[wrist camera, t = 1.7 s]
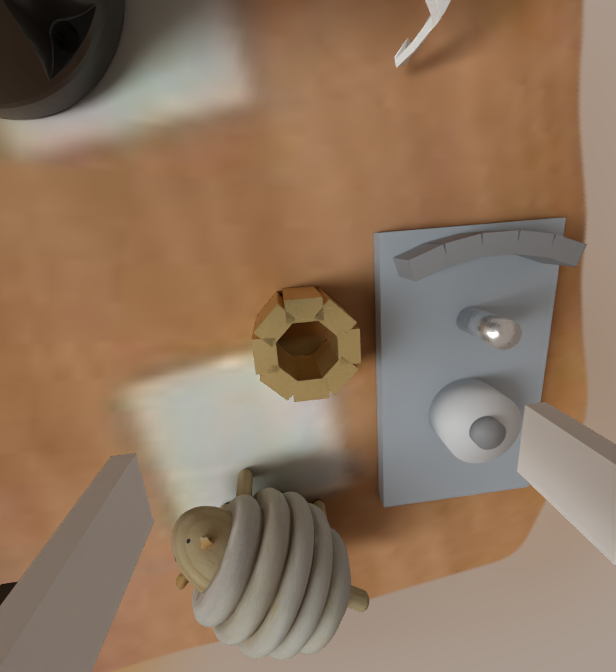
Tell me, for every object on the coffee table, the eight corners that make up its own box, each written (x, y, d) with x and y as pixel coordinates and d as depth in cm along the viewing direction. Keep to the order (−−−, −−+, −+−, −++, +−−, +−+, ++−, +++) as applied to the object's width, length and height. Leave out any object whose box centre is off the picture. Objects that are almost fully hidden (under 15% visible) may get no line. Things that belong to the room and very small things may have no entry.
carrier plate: (373, 233, 25) (398, 232, 20) (549, 218, 26) (616, 214, 21) (378, 495, 32) (398, 544, 27) (517, 475, 33) (561, 519, 28)
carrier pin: (457, 308, 26) (494, 322, 22) (482, 305, 26) (523, 319, 22) (455, 332, 26) (491, 351, 22) (480, 330, 27) (520, 348, 22)
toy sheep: (213, 430, 28) (178, 545, 18) (381, 492, 32) (434, 618, 21) (168, 524, 31) (112, 676, 20) (329, 572, 34) (355, 722, 24)
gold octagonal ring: (251, 291, 25) (246, 304, 21) (342, 282, 26) (358, 293, 21) (262, 376, 27) (260, 405, 23) (346, 367, 28) (362, 394, 23)
